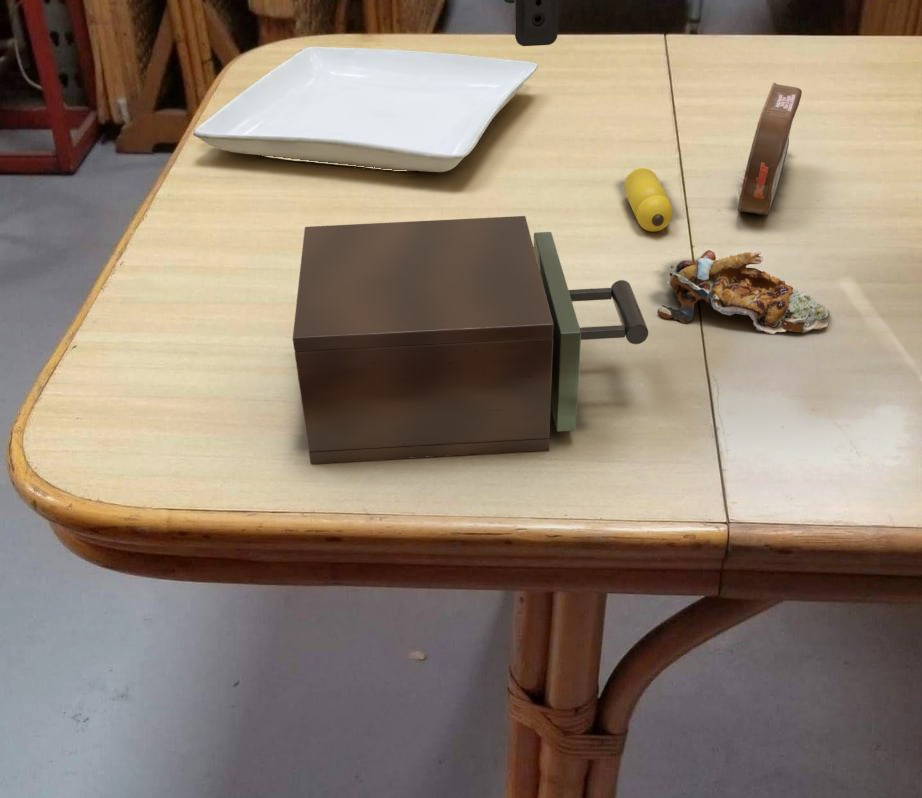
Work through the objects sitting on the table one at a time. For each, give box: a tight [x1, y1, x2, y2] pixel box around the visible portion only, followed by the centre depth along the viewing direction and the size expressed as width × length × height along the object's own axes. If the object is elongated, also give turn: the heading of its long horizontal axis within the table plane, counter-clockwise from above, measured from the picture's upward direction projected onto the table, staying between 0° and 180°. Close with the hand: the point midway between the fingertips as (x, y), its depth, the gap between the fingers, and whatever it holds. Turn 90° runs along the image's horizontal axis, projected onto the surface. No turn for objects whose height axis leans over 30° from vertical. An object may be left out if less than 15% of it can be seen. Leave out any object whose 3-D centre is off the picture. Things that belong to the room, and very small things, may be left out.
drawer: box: [533, 231, 649, 432], centre depth 69 cm, size 18×14×7 cm
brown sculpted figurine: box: [657, 249, 831, 335], centre depth 78 cm, size 7×12×4 cm, turn 71°
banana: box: [623, 167, 674, 233], centre depth 91 cm, size 3×9×3 cm, turn 4°
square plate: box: [192, 46, 539, 173], centre depth 108 cm, size 27×27×4 cm
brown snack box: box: [737, 82, 803, 216], centre depth 92 cm, size 15×3×8 cm, turn 161°
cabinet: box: [292, 215, 554, 465], centre depth 69 cm, size 15×15×9 cm
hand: (527, 21), depth 60 cm, fingers open, 8 cm apart
